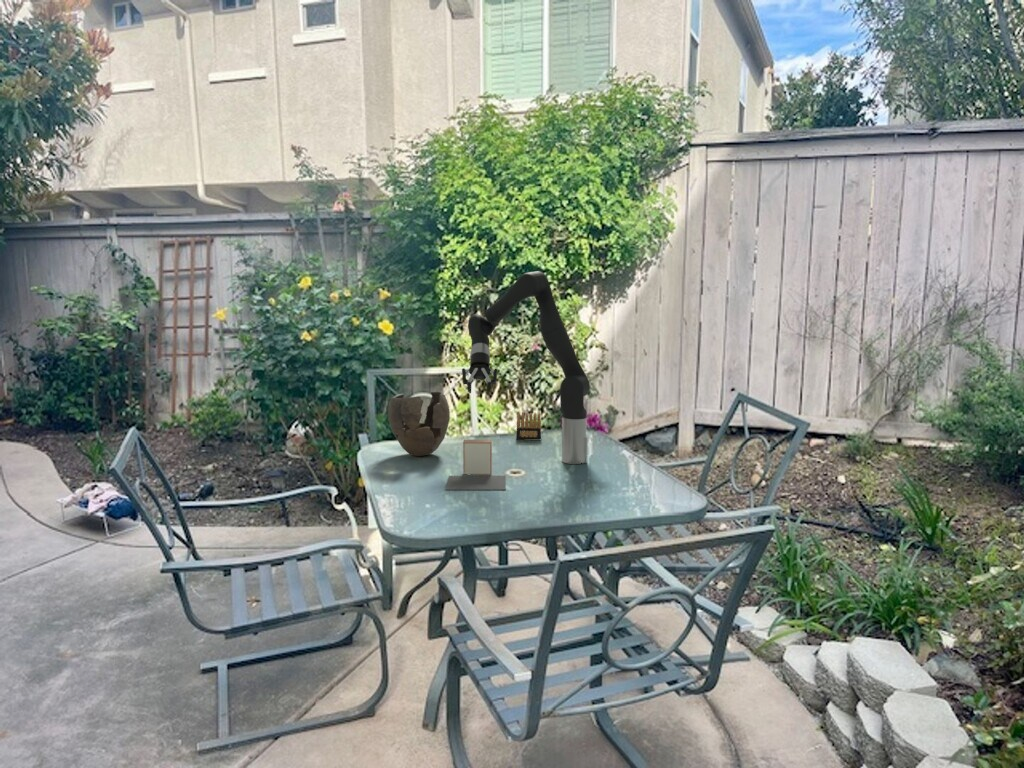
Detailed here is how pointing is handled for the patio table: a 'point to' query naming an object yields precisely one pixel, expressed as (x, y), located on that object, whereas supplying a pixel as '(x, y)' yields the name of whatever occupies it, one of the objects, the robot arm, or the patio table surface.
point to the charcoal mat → (476, 483)
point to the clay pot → (415, 434)
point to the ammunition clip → (528, 427)
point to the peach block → (477, 456)
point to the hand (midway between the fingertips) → (479, 392)
